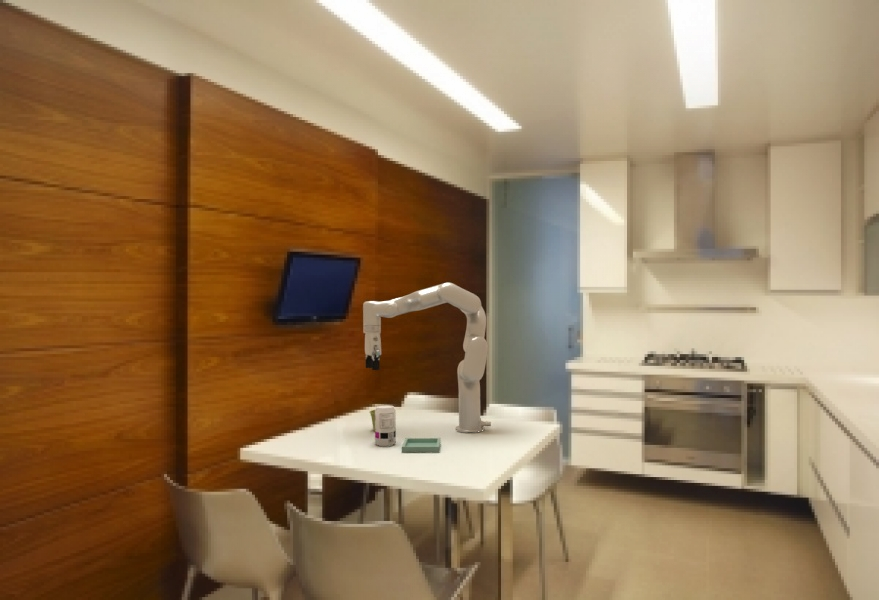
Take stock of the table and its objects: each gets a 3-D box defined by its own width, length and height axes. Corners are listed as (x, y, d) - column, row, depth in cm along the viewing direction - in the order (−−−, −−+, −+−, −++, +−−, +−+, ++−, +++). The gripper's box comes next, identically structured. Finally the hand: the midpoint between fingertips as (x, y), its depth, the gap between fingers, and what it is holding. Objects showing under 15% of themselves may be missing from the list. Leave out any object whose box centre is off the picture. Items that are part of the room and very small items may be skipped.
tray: (440, 443, 216) (440, 437, 216) (438, 452, 202) (438, 446, 202) (405, 443, 217) (405, 438, 217) (401, 452, 203) (401, 446, 203)
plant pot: (389, 432, 237) (389, 413, 237) (368, 433, 237) (367, 413, 237) (391, 428, 246) (391, 409, 246) (371, 428, 246) (371, 409, 246)
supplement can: (371, 445, 214) (370, 407, 215) (382, 441, 222) (382, 404, 222) (388, 447, 211) (387, 409, 211) (399, 443, 218) (399, 405, 218)
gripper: (386, 329, 229) (386, 370, 228) (374, 328, 244) (374, 366, 244) (369, 330, 226) (369, 371, 225) (358, 329, 241) (358, 367, 241)
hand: (372, 368), depth 235 cm, fingers open, 9 cm apart
